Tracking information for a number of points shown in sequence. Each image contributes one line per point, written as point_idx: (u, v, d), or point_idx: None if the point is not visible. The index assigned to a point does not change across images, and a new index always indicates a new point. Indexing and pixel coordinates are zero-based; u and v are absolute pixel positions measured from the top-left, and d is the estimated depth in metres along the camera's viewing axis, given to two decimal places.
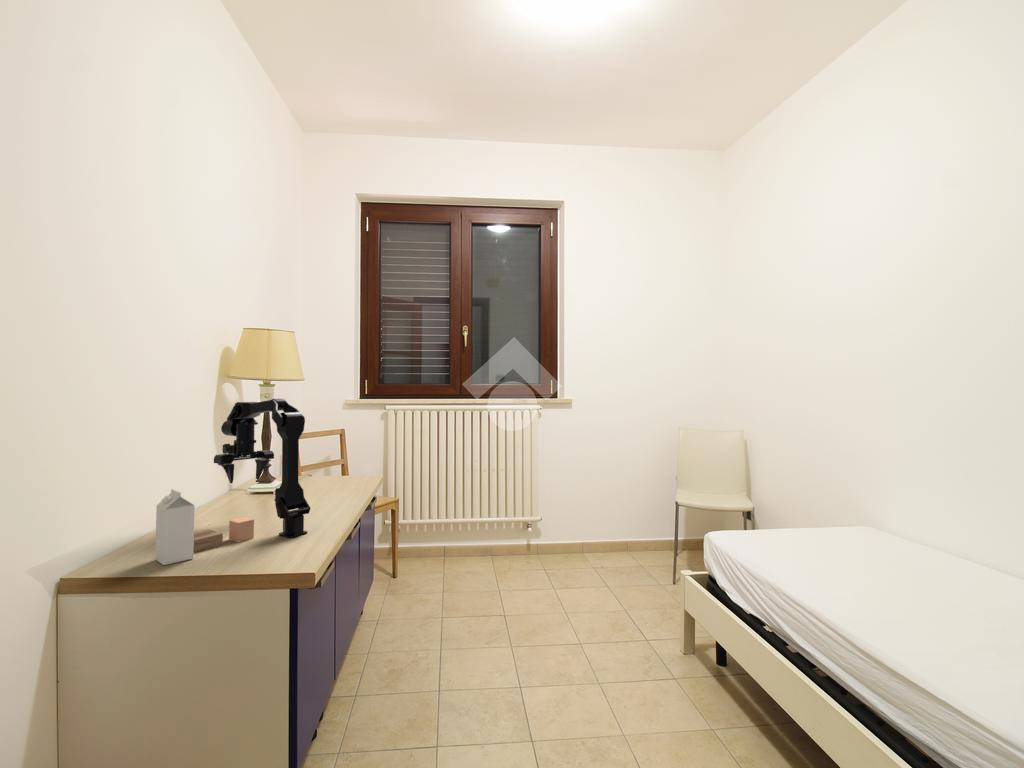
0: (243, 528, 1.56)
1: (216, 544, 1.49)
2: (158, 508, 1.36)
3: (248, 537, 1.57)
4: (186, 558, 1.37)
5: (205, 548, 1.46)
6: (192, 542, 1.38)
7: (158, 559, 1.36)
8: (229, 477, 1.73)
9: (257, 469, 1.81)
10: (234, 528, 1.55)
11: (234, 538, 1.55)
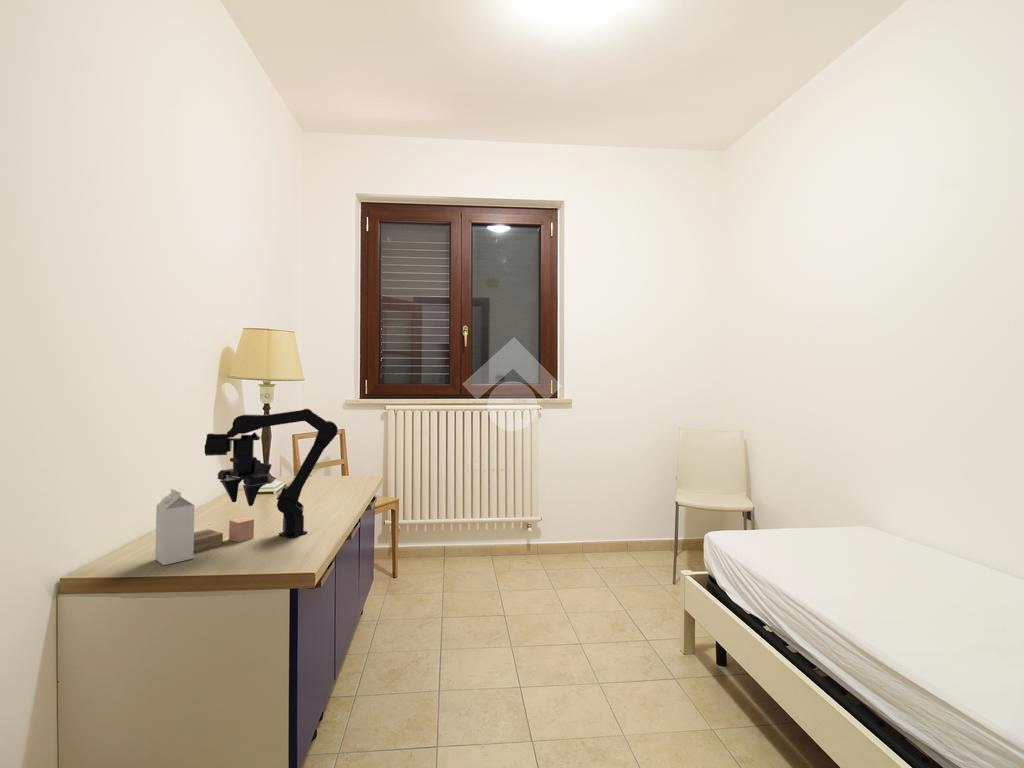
0: (243, 528, 1.55)
1: (216, 544, 1.49)
2: (158, 508, 1.36)
3: (248, 537, 1.57)
4: (186, 558, 1.37)
5: (205, 548, 1.46)
6: (192, 542, 1.38)
7: (158, 559, 1.36)
8: None
9: None
10: (234, 528, 1.55)
11: (234, 538, 1.55)
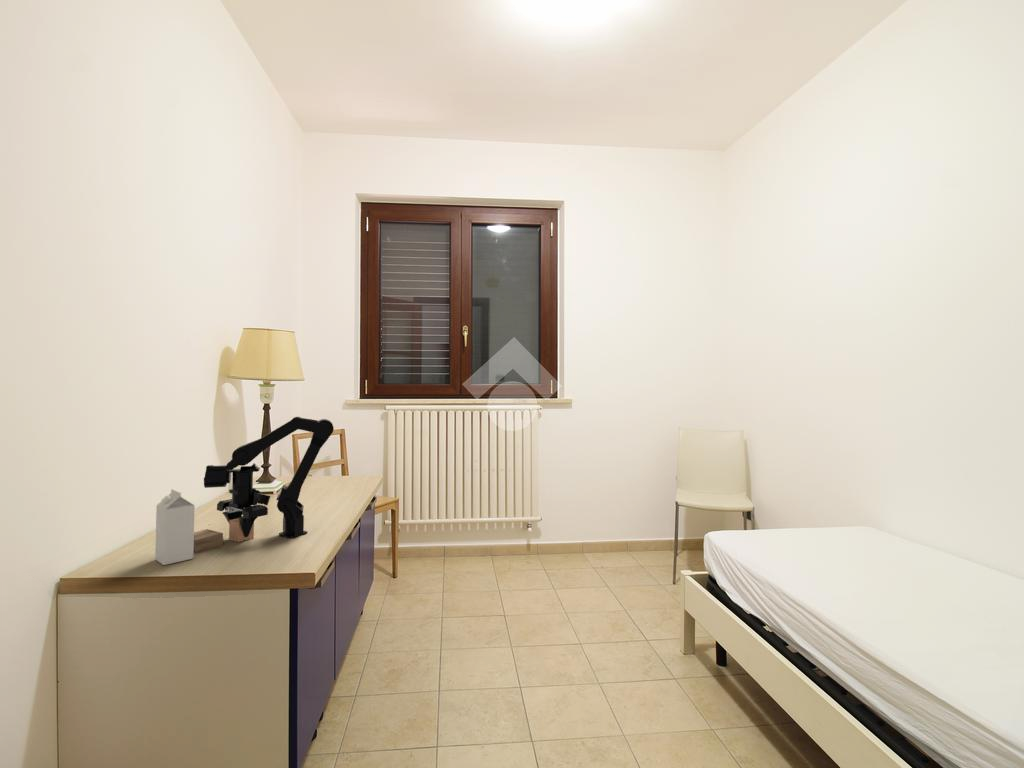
0: None
1: (216, 544, 1.49)
2: (158, 508, 1.36)
3: (248, 537, 1.57)
4: (186, 558, 1.37)
5: (206, 548, 1.47)
6: (192, 542, 1.38)
7: (158, 559, 1.36)
8: None
9: None
10: (234, 528, 1.55)
11: (234, 538, 1.55)
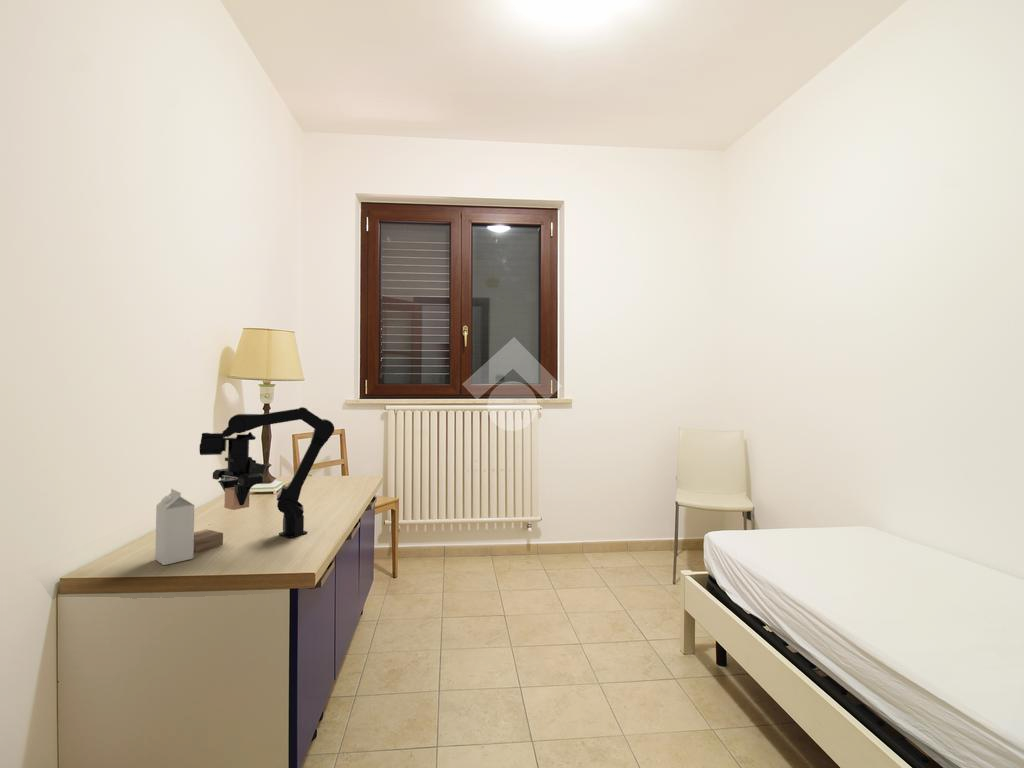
0: None
1: (217, 544, 1.49)
2: (158, 508, 1.36)
3: (243, 505, 1.56)
4: (186, 558, 1.37)
5: (206, 548, 1.47)
6: (192, 542, 1.38)
7: (158, 559, 1.36)
8: None
9: None
10: (230, 496, 1.54)
11: (229, 506, 1.54)
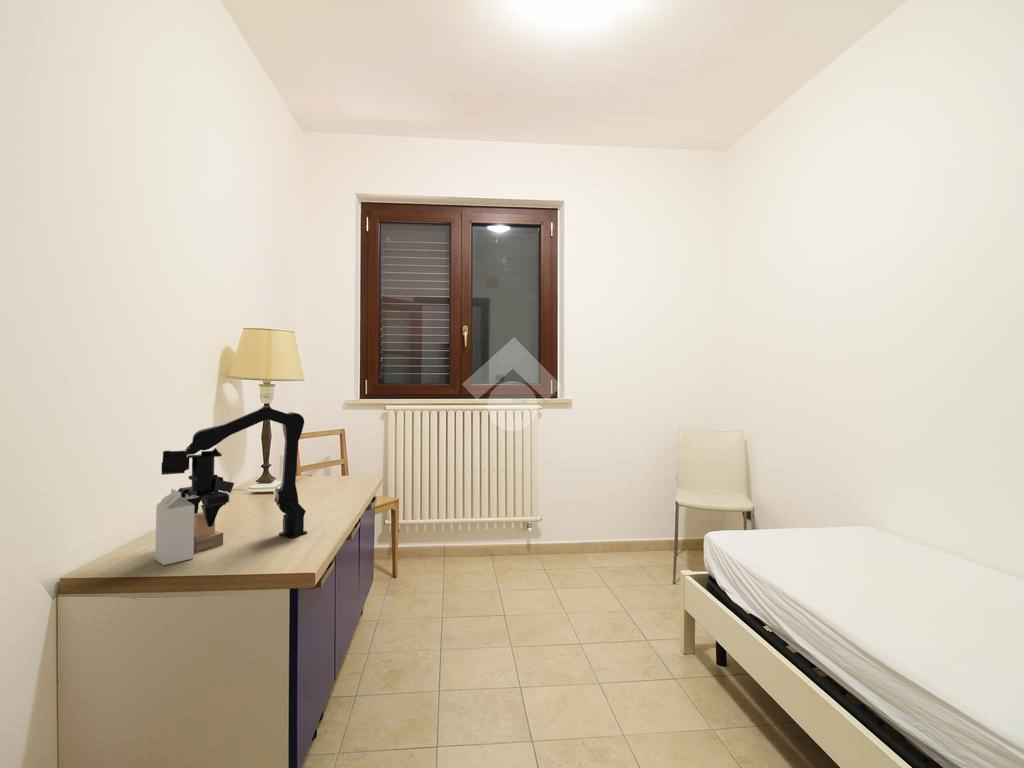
0: (202, 523, 1.47)
1: (217, 544, 1.50)
2: (158, 508, 1.36)
3: (208, 532, 1.49)
4: (186, 558, 1.37)
5: (207, 548, 1.47)
6: (192, 542, 1.38)
7: (158, 559, 1.36)
8: None
9: None
10: (194, 523, 1.47)
11: None
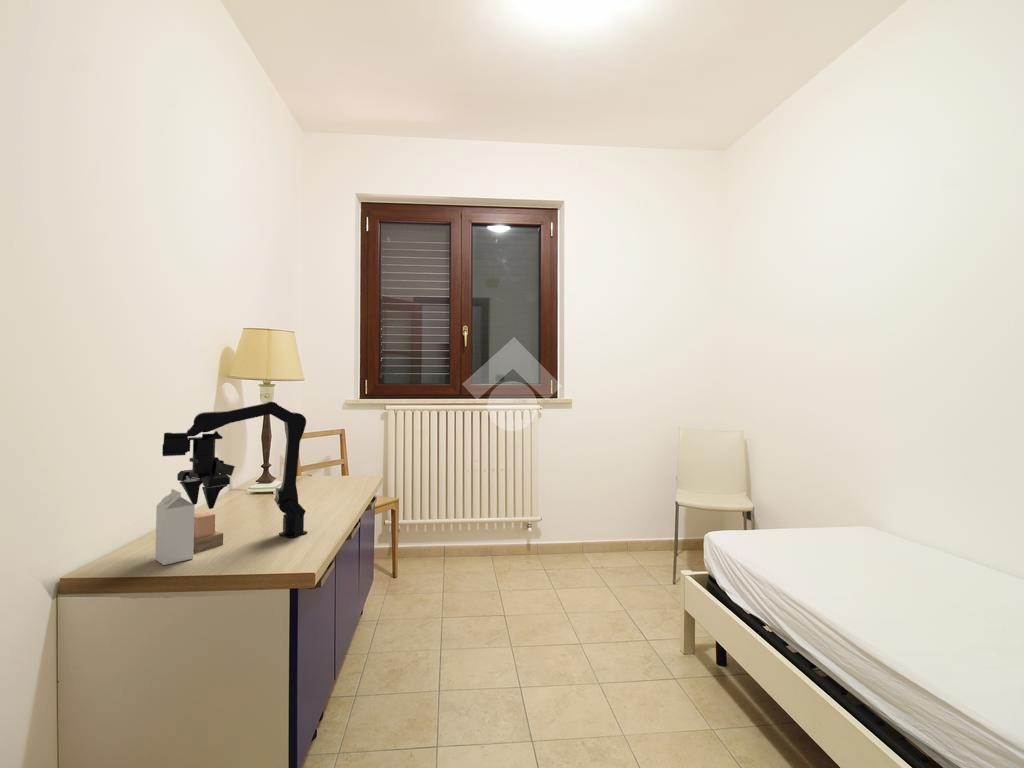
0: (203, 524, 1.47)
1: (217, 544, 1.50)
2: (158, 508, 1.36)
3: (209, 533, 1.48)
4: (186, 558, 1.37)
5: (207, 548, 1.47)
6: (192, 542, 1.38)
7: (158, 559, 1.36)
8: None
9: None
10: (194, 524, 1.46)
11: None
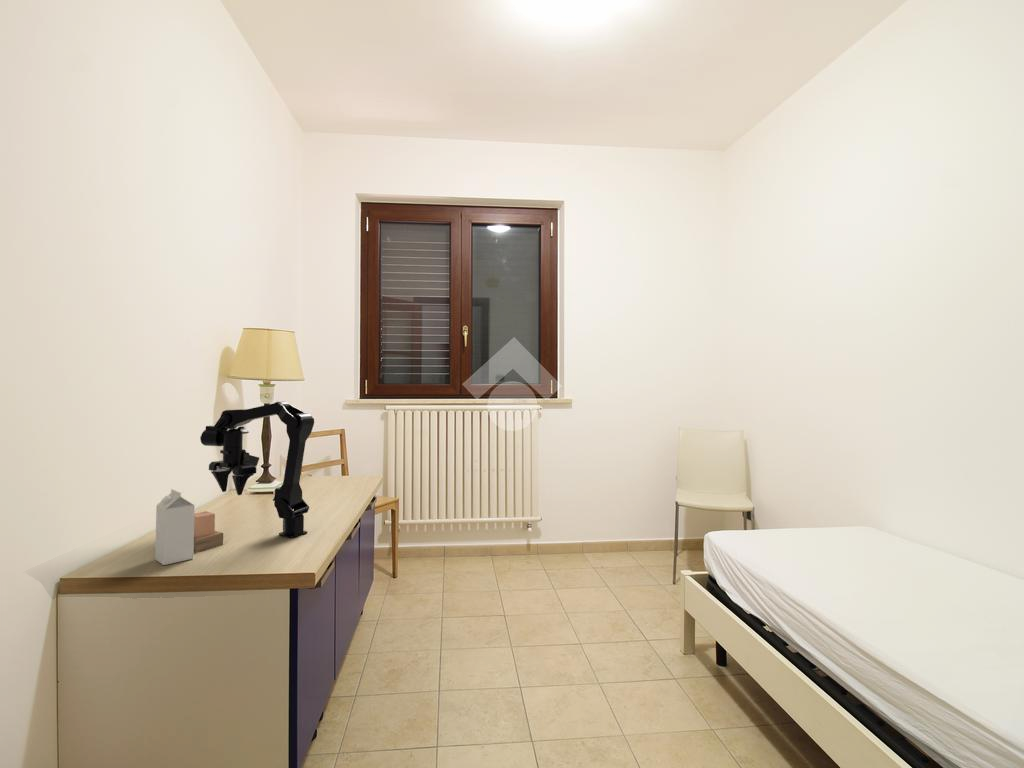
0: (202, 523, 1.47)
1: (217, 543, 1.50)
2: (158, 508, 1.36)
3: (208, 532, 1.49)
4: (186, 558, 1.37)
5: (207, 548, 1.47)
6: (192, 542, 1.38)
7: (158, 559, 1.36)
8: None
9: None
10: None
11: None
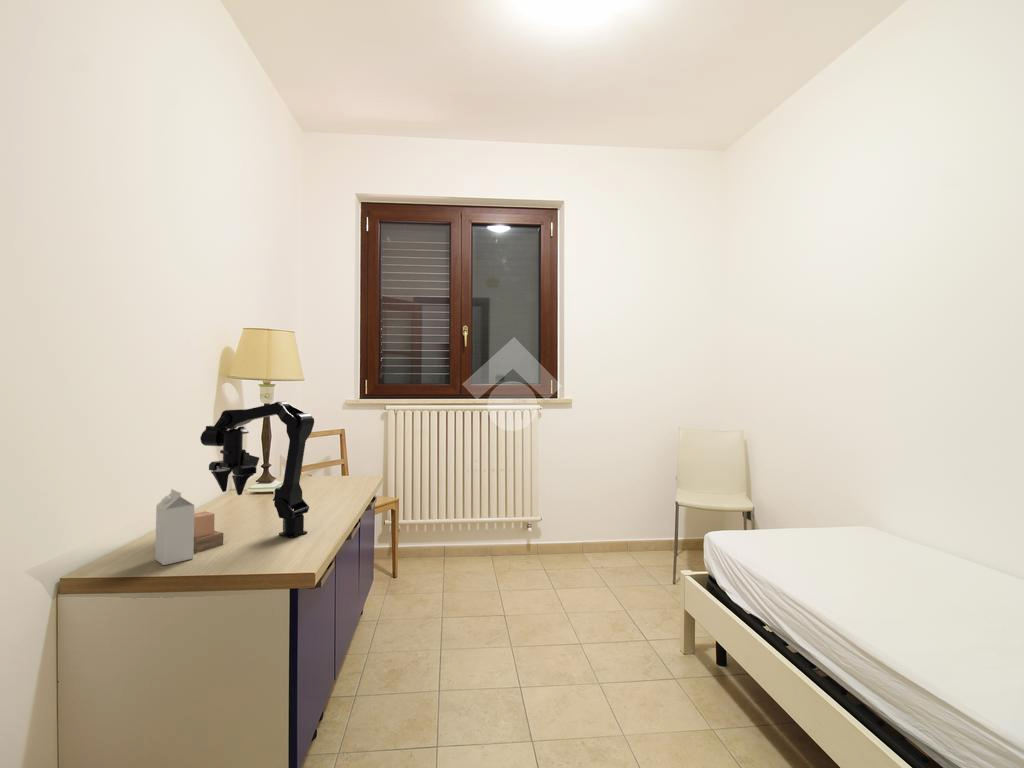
0: (202, 523, 1.47)
1: (217, 543, 1.50)
2: (158, 508, 1.36)
3: (208, 532, 1.49)
4: (186, 558, 1.37)
5: (207, 548, 1.47)
6: (192, 542, 1.38)
7: (158, 559, 1.36)
8: None
9: None
10: None
11: None
